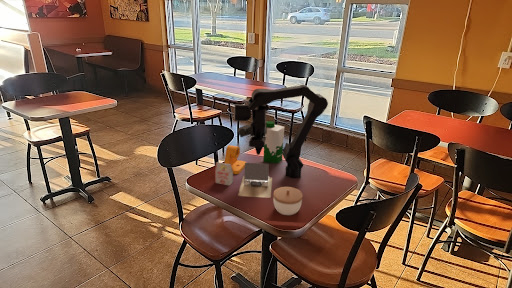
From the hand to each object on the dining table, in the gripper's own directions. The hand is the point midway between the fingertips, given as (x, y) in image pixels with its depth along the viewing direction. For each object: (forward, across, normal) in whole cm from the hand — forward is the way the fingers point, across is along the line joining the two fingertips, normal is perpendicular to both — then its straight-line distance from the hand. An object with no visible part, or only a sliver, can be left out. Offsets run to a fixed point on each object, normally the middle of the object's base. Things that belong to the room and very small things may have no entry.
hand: (258, 154), depth 141 cm
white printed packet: (+12, +6, -14) cm, 20 cm away
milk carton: (+12, -20, +6) cm, 24 cm away
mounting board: (+12, +8, 0) cm, 15 cm away
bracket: (+12, -8, -11) cm, 18 cm away
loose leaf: (+6, +8, 0) cm, 10 cm away
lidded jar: (+12, +24, +13) cm, 30 cm away
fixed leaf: (+11, +4, 0) cm, 12 cm away
